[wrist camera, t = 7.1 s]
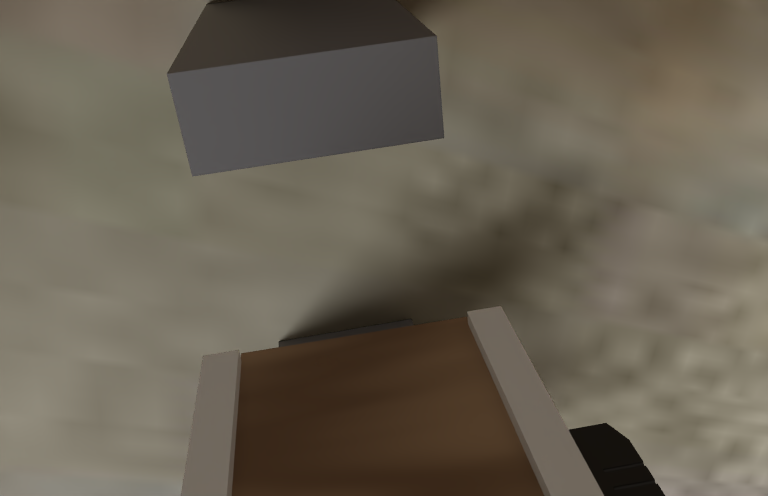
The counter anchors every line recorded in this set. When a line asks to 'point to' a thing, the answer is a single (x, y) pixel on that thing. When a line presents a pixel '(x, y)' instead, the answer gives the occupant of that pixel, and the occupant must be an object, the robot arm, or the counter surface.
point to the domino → (303, 81)
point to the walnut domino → (377, 419)
